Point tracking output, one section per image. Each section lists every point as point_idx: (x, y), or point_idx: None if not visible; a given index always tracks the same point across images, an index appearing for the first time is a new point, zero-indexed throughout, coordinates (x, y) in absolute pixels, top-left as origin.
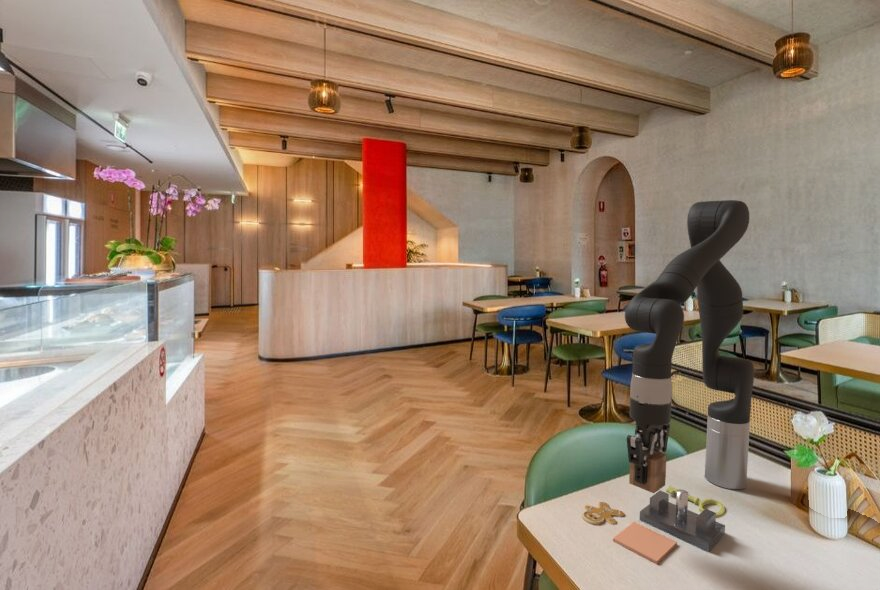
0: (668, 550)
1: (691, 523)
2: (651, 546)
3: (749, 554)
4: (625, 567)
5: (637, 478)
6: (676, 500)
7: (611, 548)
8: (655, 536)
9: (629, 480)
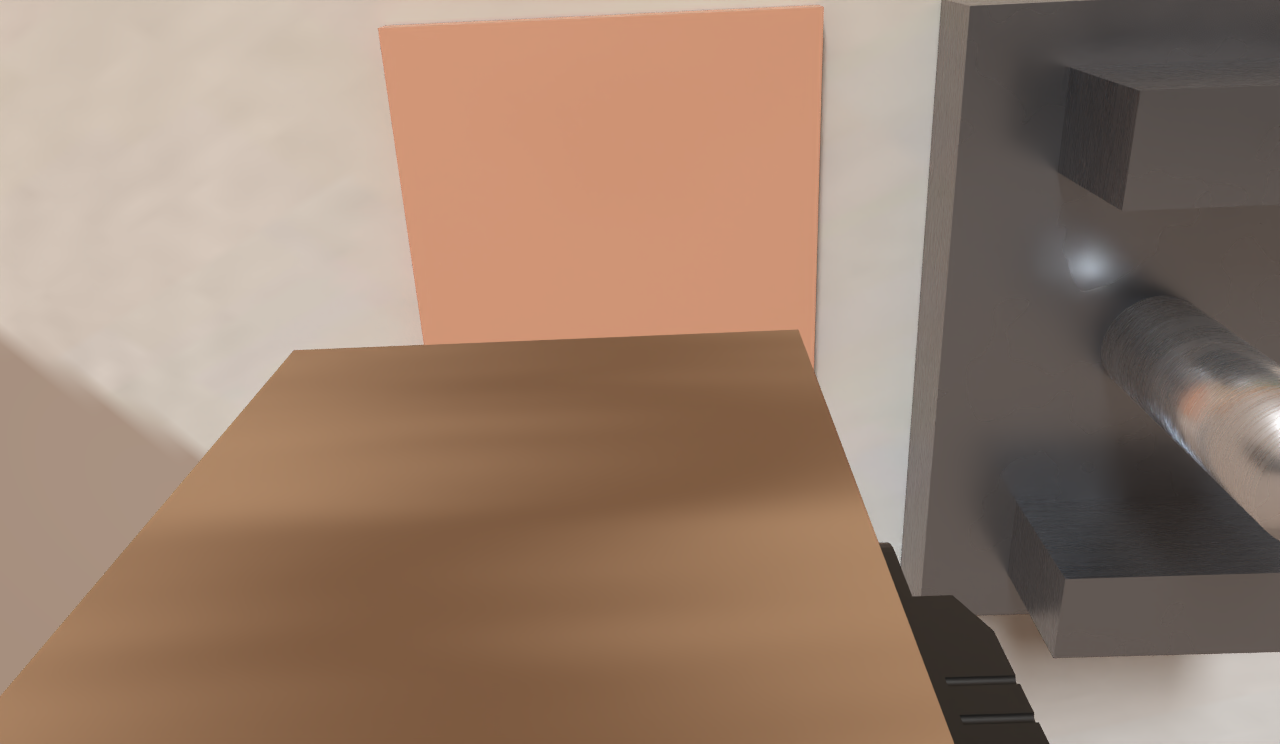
0: None
1: (1123, 434)
2: (575, 313)
3: (1090, 720)
4: (191, 288)
5: None
6: (1229, 381)
7: (282, 81)
8: (746, 265)
9: (269, 381)
